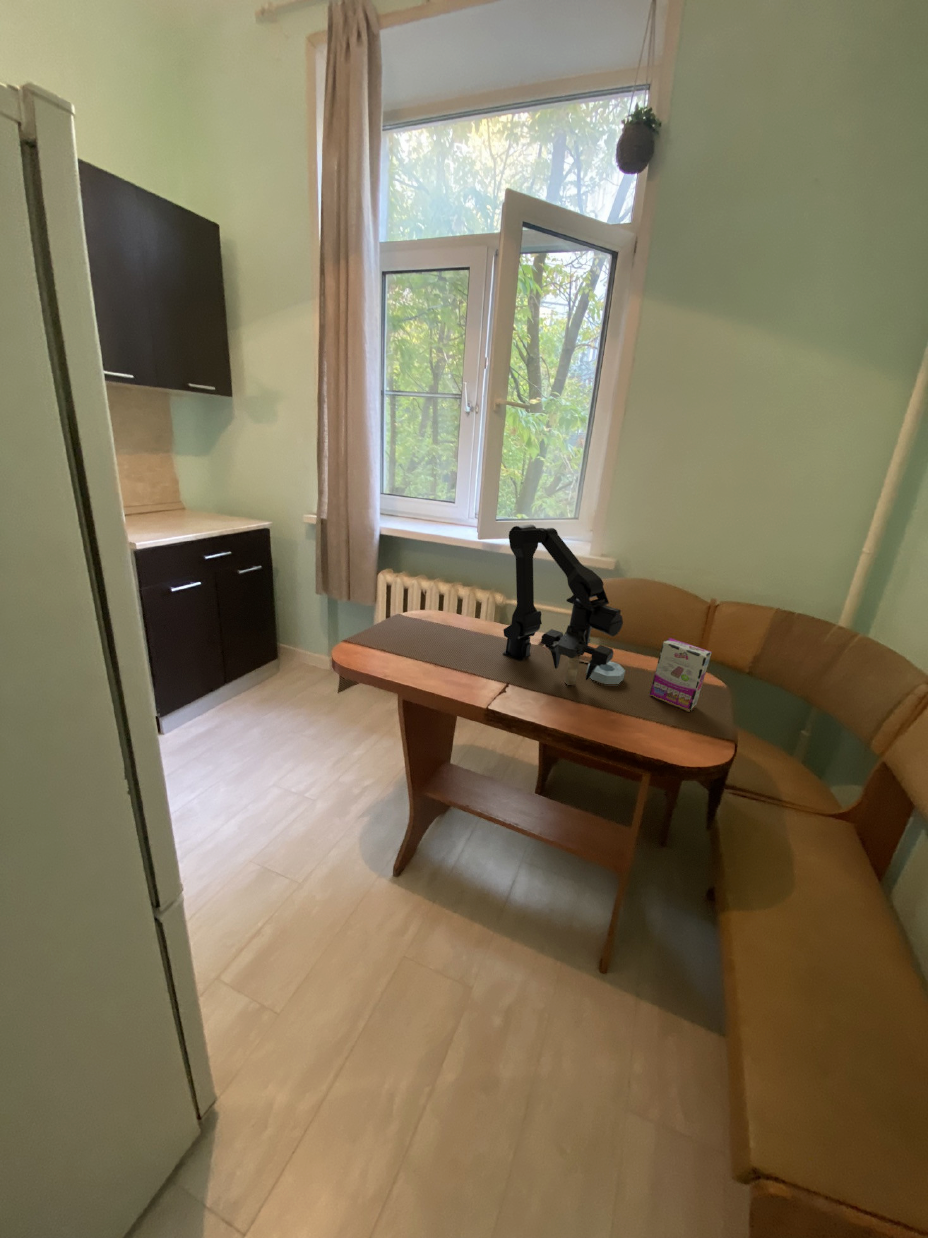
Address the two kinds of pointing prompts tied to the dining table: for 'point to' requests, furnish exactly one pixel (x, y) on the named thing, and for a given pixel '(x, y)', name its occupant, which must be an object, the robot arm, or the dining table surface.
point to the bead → (608, 673)
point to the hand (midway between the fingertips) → (571, 673)
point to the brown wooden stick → (583, 661)
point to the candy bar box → (680, 673)
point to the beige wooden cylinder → (572, 670)
